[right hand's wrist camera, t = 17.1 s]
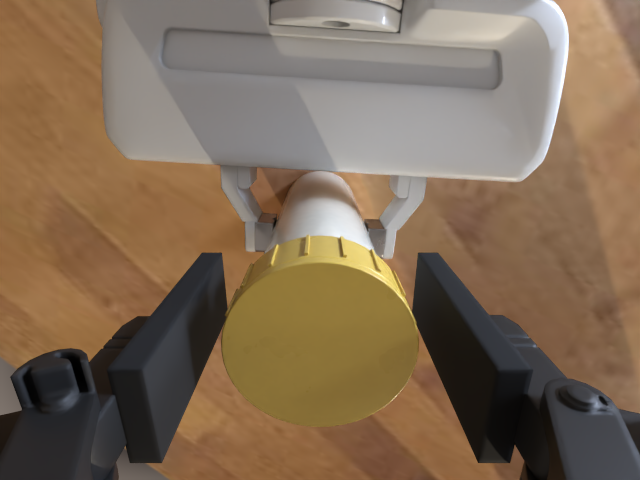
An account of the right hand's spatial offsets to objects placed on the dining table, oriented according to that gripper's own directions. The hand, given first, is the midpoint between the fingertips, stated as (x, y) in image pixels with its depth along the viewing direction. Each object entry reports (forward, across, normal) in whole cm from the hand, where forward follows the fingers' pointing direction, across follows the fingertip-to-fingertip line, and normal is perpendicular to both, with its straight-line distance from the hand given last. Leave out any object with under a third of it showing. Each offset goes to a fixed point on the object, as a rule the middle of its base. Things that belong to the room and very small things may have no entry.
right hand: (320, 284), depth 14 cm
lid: (-4, 0, 0) cm, 4 cm away
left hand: (+6, 0, -1) cm, 6 cm away
